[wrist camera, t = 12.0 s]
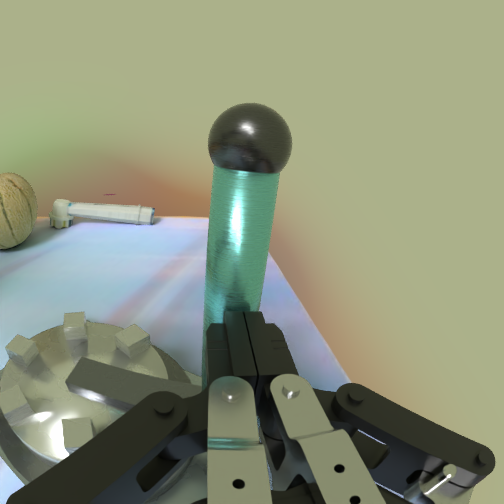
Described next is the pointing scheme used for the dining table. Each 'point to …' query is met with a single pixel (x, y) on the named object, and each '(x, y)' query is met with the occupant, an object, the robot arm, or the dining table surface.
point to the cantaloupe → (16, 210)
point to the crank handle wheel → (134, 338)
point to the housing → (163, 500)
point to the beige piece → (98, 213)
